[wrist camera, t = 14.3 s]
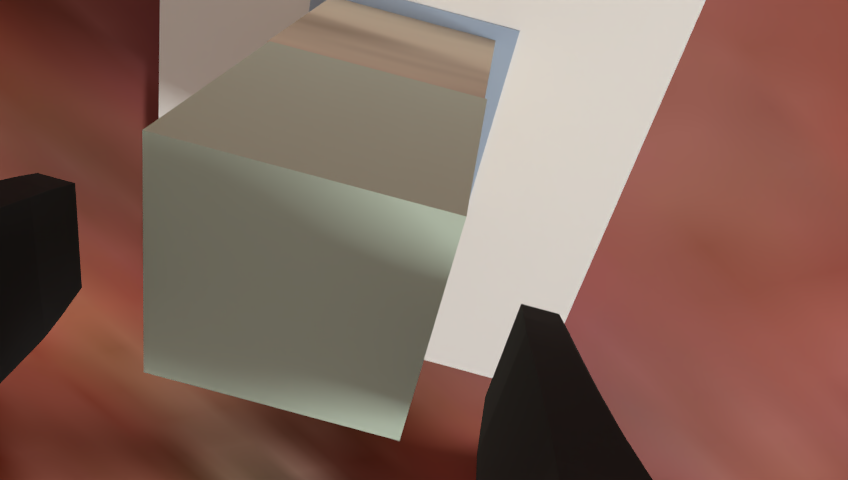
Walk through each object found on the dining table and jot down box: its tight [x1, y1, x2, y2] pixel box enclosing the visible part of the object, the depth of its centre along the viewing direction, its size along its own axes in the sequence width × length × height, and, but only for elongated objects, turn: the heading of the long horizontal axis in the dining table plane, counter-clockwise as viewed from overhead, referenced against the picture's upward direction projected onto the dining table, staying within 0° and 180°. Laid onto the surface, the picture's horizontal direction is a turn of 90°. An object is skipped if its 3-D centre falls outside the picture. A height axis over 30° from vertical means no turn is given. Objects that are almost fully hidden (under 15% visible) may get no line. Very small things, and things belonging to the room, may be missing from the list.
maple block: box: [267, 0, 495, 98], centre depth 16 cm, size 4×4×5 cm
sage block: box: [143, 41, 487, 441], centre depth 12 cm, size 4×4×5 cm
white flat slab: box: [159, 0, 705, 378], centre depth 19 cm, size 18×14×1 cm
